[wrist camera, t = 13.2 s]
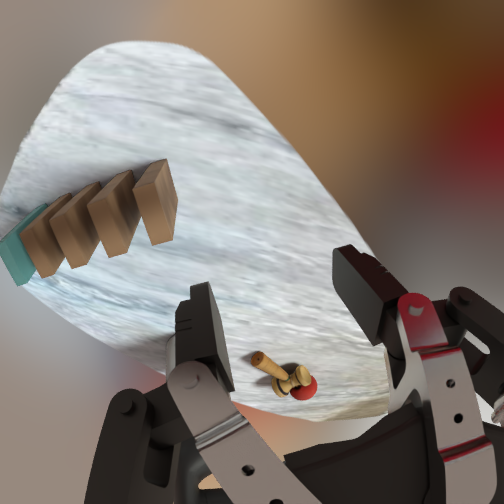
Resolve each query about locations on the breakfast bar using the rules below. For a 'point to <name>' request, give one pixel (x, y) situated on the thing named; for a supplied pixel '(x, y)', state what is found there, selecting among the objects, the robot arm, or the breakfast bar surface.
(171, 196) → the domino
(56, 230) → the domino
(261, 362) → the kendama
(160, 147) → the breakfast bar surface
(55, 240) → the domino
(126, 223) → the domino
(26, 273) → the teal domino
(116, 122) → the breakfast bar surface
